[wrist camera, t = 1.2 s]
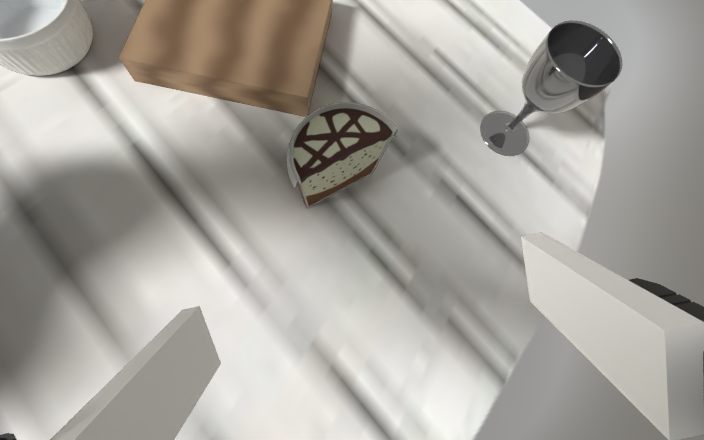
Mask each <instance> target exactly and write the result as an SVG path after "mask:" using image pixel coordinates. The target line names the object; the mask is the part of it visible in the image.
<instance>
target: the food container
mask: <svg viewBox="0 0 704 440" xmlns="http://www.w3.org/2000/svg"><path fill="white" fill-rule="evenodd" d="M397 132H398V130H397V127H396V126H395V125H394V123H393V122H392V121H391V120H390V119H389V118H387V117H386V116H385V115H384V114H382V113H381V112H379V111H377V110H375V109H373V108H371V107H369V106H366V105H363V104H358V103H351V102H341V103H333V104H329V105H326V106H323V107H321V108H319V109H317V110H315V111H313V112H312V113H311V114H309V115H308V116H307V117H306V118H305V119H304V120H303V121H302V122H301V123H300V124H299V125H298V127H297V128H296V130H295V131H294V134H293V136H292V138H291V141H290V144H289V148H288V152H287V170H288V174H289V178H290V181H291V183H292V185H293V187H294V188H296V185H297V182H298V184H299V187H300V191H301V194H302V197H303V200H304V203H305V205H306V207H307V208H309V207H311V206H313V205H315V204H317V203H319V202H321V201H323V200H324V199H326V198H328V197H330V196H332V195H334V194H336V193H338V192H340V191H341V190H343V189H345V188H347V187H349V186H351V185H353V184H355V183H356V182H358V181H360V180H362V179H364V178H366V177H368V176H370V175H372V173H373V172H374V170H375V168H376V166H377V164H378V163H379V161H380V159H381V157H382V155H383V154H384V152H385V150H386V148H387V146H388V145H389V143H390V141H391V139H392V137H393V136H395V137H396V136H397Z"/></svg>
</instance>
